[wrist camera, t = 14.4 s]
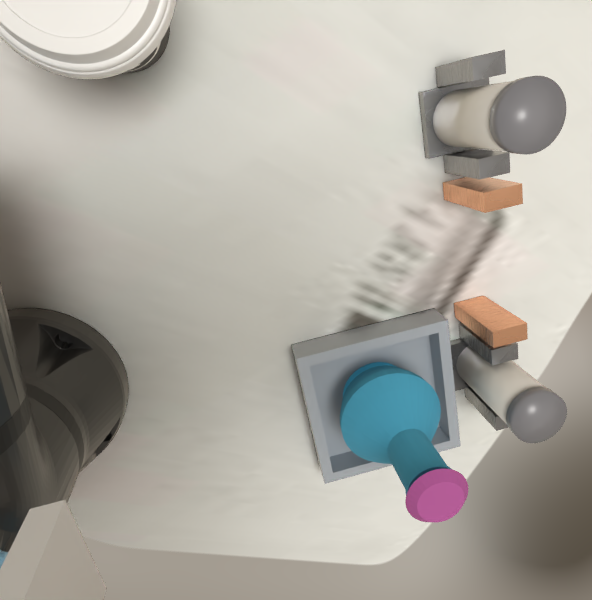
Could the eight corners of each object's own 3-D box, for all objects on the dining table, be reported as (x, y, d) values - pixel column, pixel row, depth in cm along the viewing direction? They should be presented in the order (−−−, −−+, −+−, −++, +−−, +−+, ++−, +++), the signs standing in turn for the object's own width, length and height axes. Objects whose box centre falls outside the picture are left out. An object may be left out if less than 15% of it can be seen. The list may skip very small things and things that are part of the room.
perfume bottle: (418, 341, 46) (504, 433, 32) (422, 422, 50) (502, 537, 36) (324, 360, 46) (371, 462, 32) (335, 441, 49) (382, 566, 35)
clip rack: (450, 400, 50) (485, 441, 44) (416, 71, 39) (456, 60, 32) (501, 386, 50) (544, 425, 44) (482, 56, 39) (535, 42, 33)
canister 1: (434, 153, 40) (499, 161, 31) (428, 94, 39) (495, 84, 29) (486, 141, 41) (566, 145, 31) (483, 82, 39) (566, 68, 30)
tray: (318, 463, 50) (324, 483, 47) (291, 344, 45) (296, 359, 42) (447, 428, 51) (460, 446, 48) (433, 308, 46) (448, 319, 43)
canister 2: (457, 387, 49) (514, 449, 39) (453, 347, 47) (511, 401, 38) (500, 376, 49) (566, 434, 40) (498, 335, 47) (566, 386, 38)
